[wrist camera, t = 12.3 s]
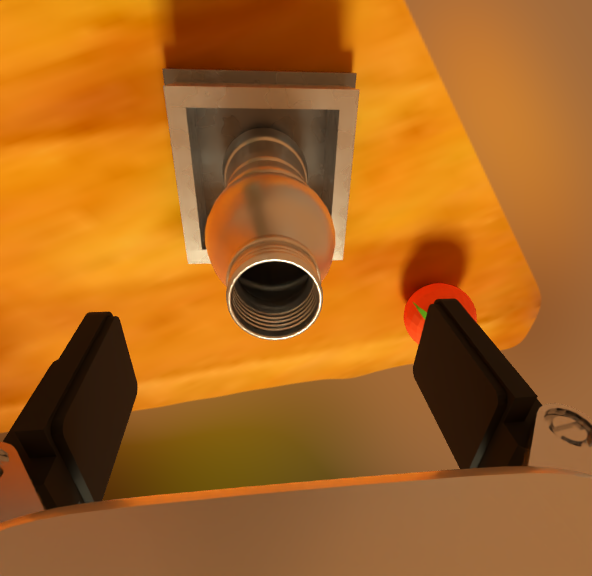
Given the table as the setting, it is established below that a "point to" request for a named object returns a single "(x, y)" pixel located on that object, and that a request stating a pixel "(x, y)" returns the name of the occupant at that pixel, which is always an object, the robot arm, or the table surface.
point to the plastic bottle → (270, 236)
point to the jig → (258, 114)
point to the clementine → (427, 296)
